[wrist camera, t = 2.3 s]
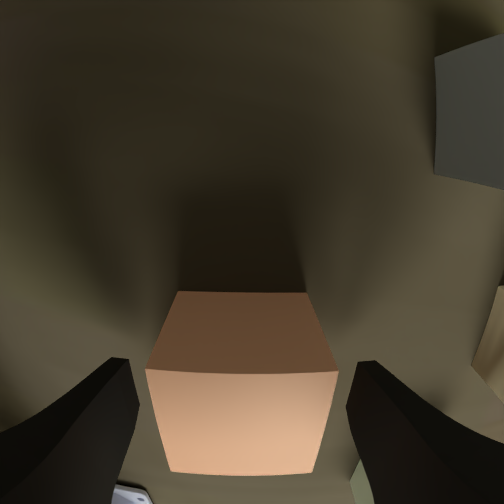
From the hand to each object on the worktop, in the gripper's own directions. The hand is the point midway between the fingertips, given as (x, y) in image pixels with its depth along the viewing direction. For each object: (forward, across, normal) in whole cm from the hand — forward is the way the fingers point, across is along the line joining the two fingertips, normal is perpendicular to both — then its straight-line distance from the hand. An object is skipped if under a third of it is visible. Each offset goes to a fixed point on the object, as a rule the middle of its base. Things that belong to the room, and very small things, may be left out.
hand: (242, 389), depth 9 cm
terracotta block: (+3, 0, 0) cm, 3 cm away
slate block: (+3, -9, -9) cm, 13 cm away
